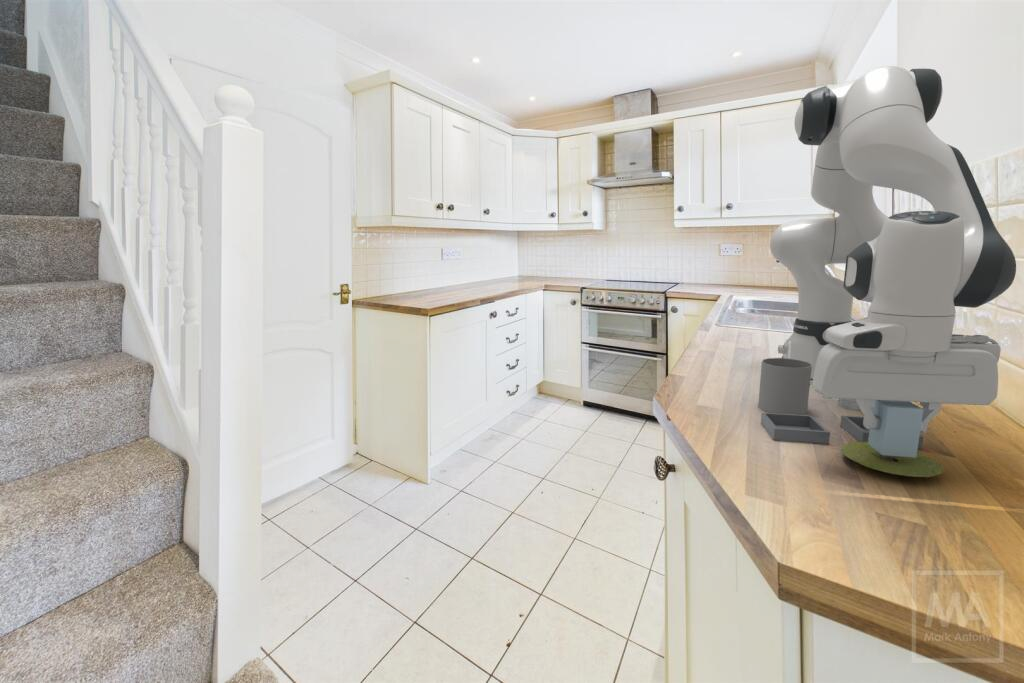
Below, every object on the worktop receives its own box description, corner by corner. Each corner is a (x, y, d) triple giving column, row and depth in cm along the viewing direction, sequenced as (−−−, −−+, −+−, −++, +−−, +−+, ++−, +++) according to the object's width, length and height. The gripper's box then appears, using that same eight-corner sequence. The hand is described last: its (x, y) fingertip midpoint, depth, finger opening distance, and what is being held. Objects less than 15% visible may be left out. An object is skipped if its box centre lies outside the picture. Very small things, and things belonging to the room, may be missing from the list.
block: (867, 443, 66) (873, 398, 65) (899, 445, 65) (906, 400, 64) (881, 454, 63) (888, 407, 61) (916, 457, 62) (923, 409, 60)
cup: (814, 420, 84) (819, 368, 82) (766, 418, 86) (771, 367, 84) (796, 405, 92) (800, 358, 91) (752, 404, 94) (756, 357, 92)
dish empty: (840, 428, 80) (841, 415, 79) (893, 432, 78) (895, 418, 77) (861, 447, 72) (863, 432, 72) (921, 451, 70) (923, 436, 70)
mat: (879, 449, 71) (881, 437, 71) (963, 483, 60) (966, 469, 60) (821, 458, 69) (822, 446, 68) (897, 494, 58) (899, 480, 58)
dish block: (760, 425, 82) (761, 412, 82) (810, 428, 80) (811, 415, 80) (773, 442, 75) (774, 428, 74) (828, 446, 72) (830, 432, 72)
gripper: (984, 331, 61) (967, 426, 64) (813, 328, 67) (805, 417, 69) (1022, 339, 55) (1002, 444, 58) (831, 336, 61) (821, 432, 63)
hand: (893, 429), depth 63 cm, fingers closed on block, 4 cm apart
